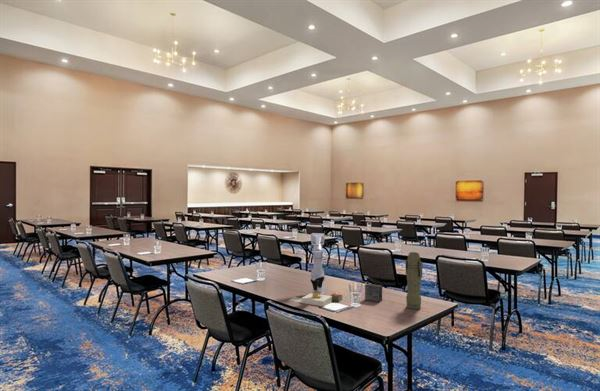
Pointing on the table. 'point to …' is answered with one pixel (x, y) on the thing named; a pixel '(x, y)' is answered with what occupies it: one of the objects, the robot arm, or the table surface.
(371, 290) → the small box
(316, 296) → the billet
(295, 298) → the billet mat
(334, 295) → the button cap
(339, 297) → the button console
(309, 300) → the block
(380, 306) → the table surface
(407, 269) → the thermos
